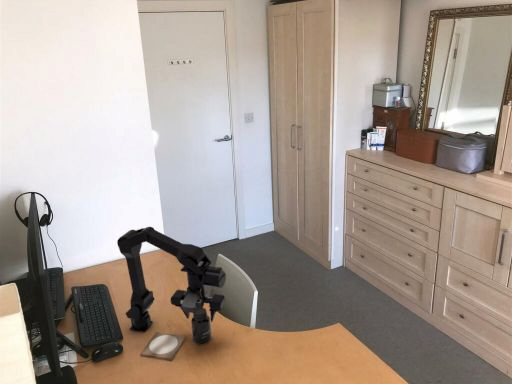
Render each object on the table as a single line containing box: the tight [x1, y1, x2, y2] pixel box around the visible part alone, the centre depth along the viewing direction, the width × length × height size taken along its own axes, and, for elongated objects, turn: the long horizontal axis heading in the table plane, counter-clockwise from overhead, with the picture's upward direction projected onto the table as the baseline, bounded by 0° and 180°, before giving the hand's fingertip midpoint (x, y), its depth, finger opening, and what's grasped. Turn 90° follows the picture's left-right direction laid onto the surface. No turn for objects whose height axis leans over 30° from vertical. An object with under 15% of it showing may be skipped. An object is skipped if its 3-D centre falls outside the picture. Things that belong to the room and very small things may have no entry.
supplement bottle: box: [190, 307, 212, 345], centre depth 160 cm, size 7×7×12 cm
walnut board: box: [140, 331, 187, 362], centre depth 159 cm, size 12×12×1 cm
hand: (200, 319), depth 160 cm, fingers open, 9 cm apart
